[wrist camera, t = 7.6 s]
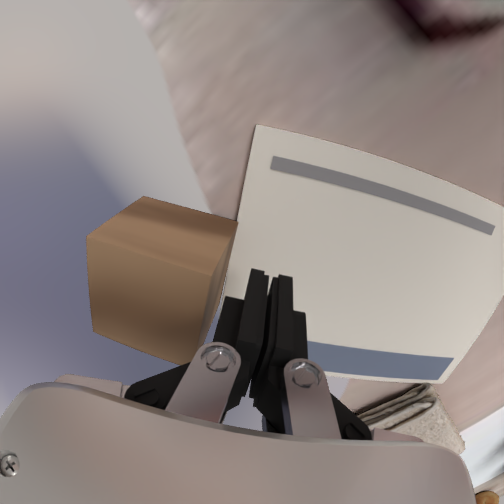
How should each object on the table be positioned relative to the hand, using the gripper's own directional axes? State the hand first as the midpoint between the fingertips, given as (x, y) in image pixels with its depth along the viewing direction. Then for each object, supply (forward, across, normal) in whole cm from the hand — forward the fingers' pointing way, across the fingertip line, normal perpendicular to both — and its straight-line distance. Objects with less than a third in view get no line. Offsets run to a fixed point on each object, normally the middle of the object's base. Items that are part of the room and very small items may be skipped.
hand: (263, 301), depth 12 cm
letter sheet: (+4, -7, +1) cm, 8 cm away
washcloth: (+4, -17, +17) cm, 24 cm away
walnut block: (+4, +4, +1) cm, 6 cm away
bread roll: (+3, -74, +58) cm, 94 cm away
